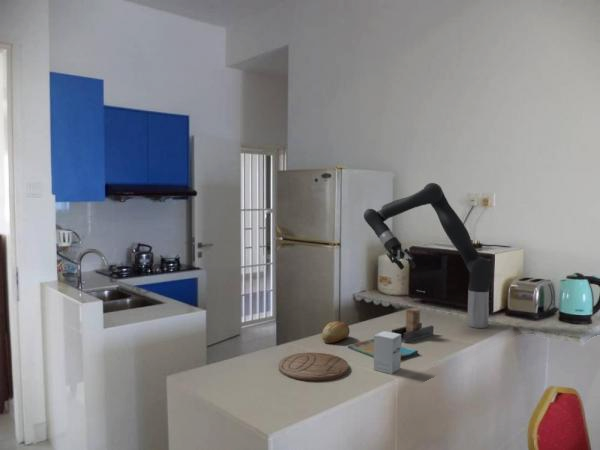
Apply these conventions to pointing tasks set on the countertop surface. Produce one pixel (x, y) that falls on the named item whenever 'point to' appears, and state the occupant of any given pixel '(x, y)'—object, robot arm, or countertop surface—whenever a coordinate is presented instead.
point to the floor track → (414, 333)
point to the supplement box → (387, 352)
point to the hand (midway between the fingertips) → (408, 267)
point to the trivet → (313, 367)
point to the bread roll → (335, 332)
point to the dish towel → (368, 349)
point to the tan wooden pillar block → (412, 319)
